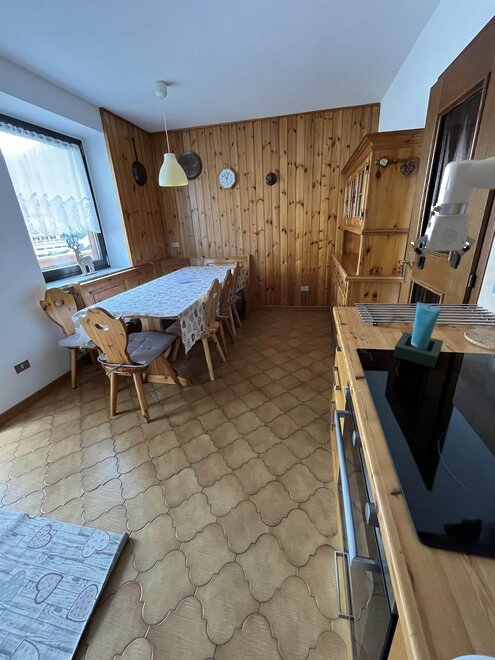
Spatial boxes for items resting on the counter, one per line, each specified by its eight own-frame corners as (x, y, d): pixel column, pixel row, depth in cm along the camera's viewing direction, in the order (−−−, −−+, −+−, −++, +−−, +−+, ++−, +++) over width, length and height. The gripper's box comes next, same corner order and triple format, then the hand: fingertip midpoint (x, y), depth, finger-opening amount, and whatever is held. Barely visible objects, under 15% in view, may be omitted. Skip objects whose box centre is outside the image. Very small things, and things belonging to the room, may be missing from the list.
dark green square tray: (439, 352, 100) (443, 340, 98) (433, 369, 92) (437, 356, 89) (401, 343, 107) (404, 331, 105) (392, 358, 99) (395, 346, 96)
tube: (430, 357, 98) (444, 306, 89) (424, 362, 95) (438, 310, 86) (408, 349, 103) (419, 300, 94) (402, 354, 101) (413, 304, 92)
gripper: (423, 212, 80) (411, 272, 87) (492, 209, 77) (473, 270, 85) (413, 210, 86) (403, 265, 94) (476, 207, 84) (460, 264, 91)
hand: (436, 268), depth 89 cm, fingers open, 9 cm apart
